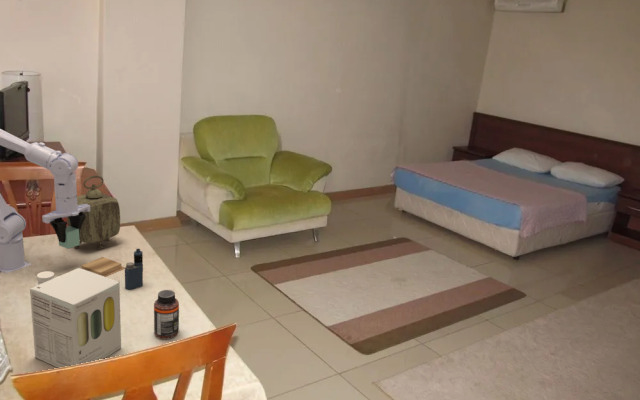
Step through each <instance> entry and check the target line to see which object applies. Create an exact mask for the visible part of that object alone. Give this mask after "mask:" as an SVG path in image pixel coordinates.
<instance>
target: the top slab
mask: <svg viewBox="0 0 640 400" xmlns="http://www.w3.org/2000/svg"><path fill="white" fill-rule="evenodd" d="M80 266H81V269H84V270H87V271H90V272H93V273H95V274H98V275H101V276H104V275H107V274H109V273H111V272H114V271H116V270H118V269H120V268H121V266H122V263H120V262H118V261H116V260H112V259H109V258H107V257H104V256H101V257H98V258H97V259H94V260H91V261H89V262H86V263H84V264H81V265H80Z"/></svg>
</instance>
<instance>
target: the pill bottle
mask: <svg viewBox="0 0 640 400" xmlns="http://www.w3.org/2000/svg"><path fill="white" fill-rule="evenodd" d="M53 278H55V272H53V271H45V270H44V271H41V272H39V273H37V275H36V280H37V281H36V282H35V283H34V287H35V286H37V285H39V284H42V283H44V282H47V281H49V280H51V279H53Z"/></svg>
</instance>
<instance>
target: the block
mask: <svg viewBox="0 0 640 400" xmlns="http://www.w3.org/2000/svg"><path fill="white" fill-rule="evenodd" d="M65 233H66V240H65V242H64V243H62V242H60V241H59V240H58V245H59V246H60V247H63V248H65V249H66V250H67V249H71V248H74V247H75V246H78V245H79V246H80V245H81V244H80V240H79V229H77V228H74V227H71V226H68V225H67V226H66V232H65Z"/></svg>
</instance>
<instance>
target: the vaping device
mask: <svg viewBox="0 0 640 400" xmlns="http://www.w3.org/2000/svg"><path fill="white" fill-rule="evenodd" d="M143 257H144V254H143V251H141V249H140V248H136V249H135V251H134V252H133V262H126V265H125V267H124V268H125V269H124V289H125V290H126V291H131V290H135V289H139V288H142V287H143V286H144V285H143V283H144V279H143V278H144V274H143V273H144V264H143V263H144V262H143V261H144V259H143Z"/></svg>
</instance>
